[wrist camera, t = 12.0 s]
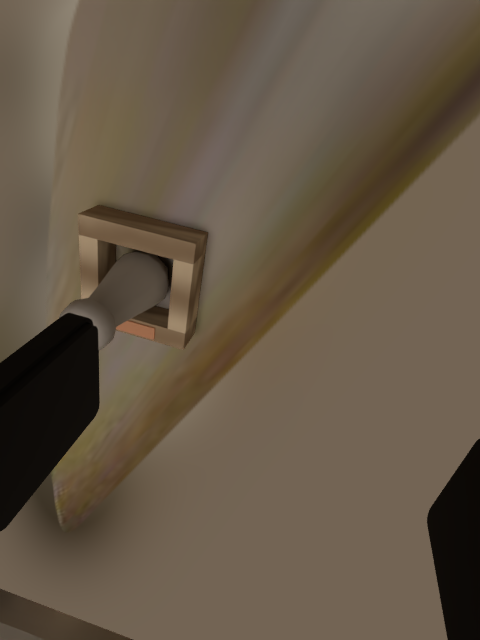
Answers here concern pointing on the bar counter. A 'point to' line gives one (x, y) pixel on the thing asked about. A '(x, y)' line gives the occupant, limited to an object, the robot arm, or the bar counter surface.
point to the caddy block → (156, 238)
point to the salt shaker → (123, 293)
